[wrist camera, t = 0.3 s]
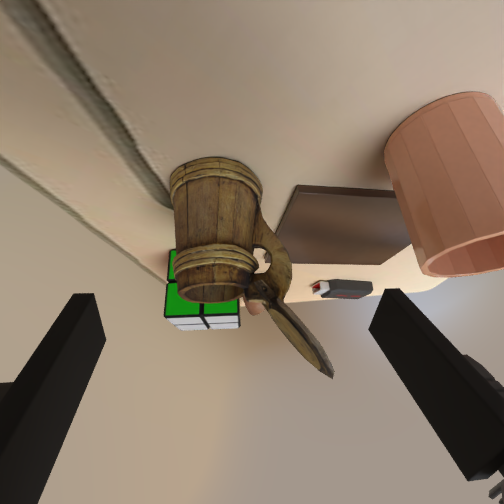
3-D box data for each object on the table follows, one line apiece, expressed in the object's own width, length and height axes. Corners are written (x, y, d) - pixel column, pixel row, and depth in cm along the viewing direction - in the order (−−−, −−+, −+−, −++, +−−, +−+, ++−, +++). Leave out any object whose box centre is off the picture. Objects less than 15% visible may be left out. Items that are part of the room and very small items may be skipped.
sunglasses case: (281, 300, 66) (269, 325, 64) (256, 287, 68) (243, 311, 65) (284, 274, 50) (268, 306, 47) (250, 258, 52) (233, 288, 49)
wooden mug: (298, 208, 32) (323, 379, 24) (183, 215, 32) (170, 386, 24) (311, 150, 24) (354, 378, 16) (156, 159, 24) (124, 390, 16)
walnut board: (297, 184, 28) (298, 192, 27) (468, 195, 31) (471, 202, 30) (264, 257, 44) (264, 263, 43) (378, 259, 47) (380, 265, 46)
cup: (427, 85, 19) (495, 221, 14) (527, 98, 20) (620, 227, 15) (366, 168, 26) (397, 277, 21) (441, 174, 27) (486, 278, 23)
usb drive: (356, 289, 62) (358, 301, 61) (309, 286, 59) (311, 299, 58) (371, 281, 58) (374, 294, 57) (322, 278, 54) (324, 291, 53)
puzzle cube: (183, 273, 49) (179, 331, 44) (168, 248, 40) (162, 318, 35) (239, 271, 49) (240, 328, 45) (238, 246, 40) (239, 315, 36)
